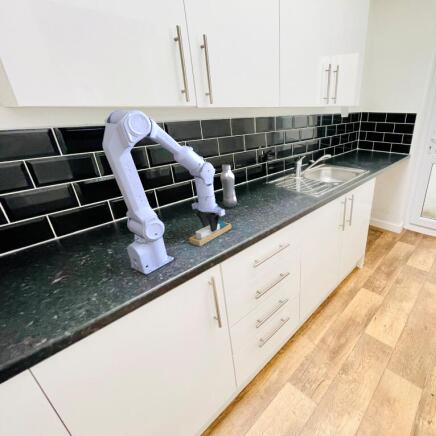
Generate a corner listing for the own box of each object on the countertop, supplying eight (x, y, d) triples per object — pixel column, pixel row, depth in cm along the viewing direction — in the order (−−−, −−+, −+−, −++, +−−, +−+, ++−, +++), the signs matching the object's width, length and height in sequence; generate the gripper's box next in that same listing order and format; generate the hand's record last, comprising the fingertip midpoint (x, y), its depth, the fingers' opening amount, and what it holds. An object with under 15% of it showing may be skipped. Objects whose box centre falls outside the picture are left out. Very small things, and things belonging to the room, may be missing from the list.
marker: (202, 240, 91) (200, 233, 90) (196, 238, 92) (195, 231, 91) (225, 227, 101) (224, 220, 99) (220, 226, 102) (219, 219, 101)
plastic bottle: (225, 209, 120) (219, 167, 112) (222, 205, 126) (217, 164, 117) (238, 207, 122) (234, 166, 114) (236, 203, 128) (231, 163, 120)
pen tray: (200, 246, 89) (199, 241, 88) (189, 242, 92) (189, 238, 91) (231, 228, 102) (231, 223, 101) (222, 225, 104) (221, 221, 104)
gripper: (229, 195, 90) (233, 229, 96) (200, 189, 97) (205, 221, 102) (214, 201, 85) (219, 237, 90) (184, 194, 91) (191, 228, 97)
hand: (211, 229), depth 96 cm, fingers closed on marker, 3 cm apart
